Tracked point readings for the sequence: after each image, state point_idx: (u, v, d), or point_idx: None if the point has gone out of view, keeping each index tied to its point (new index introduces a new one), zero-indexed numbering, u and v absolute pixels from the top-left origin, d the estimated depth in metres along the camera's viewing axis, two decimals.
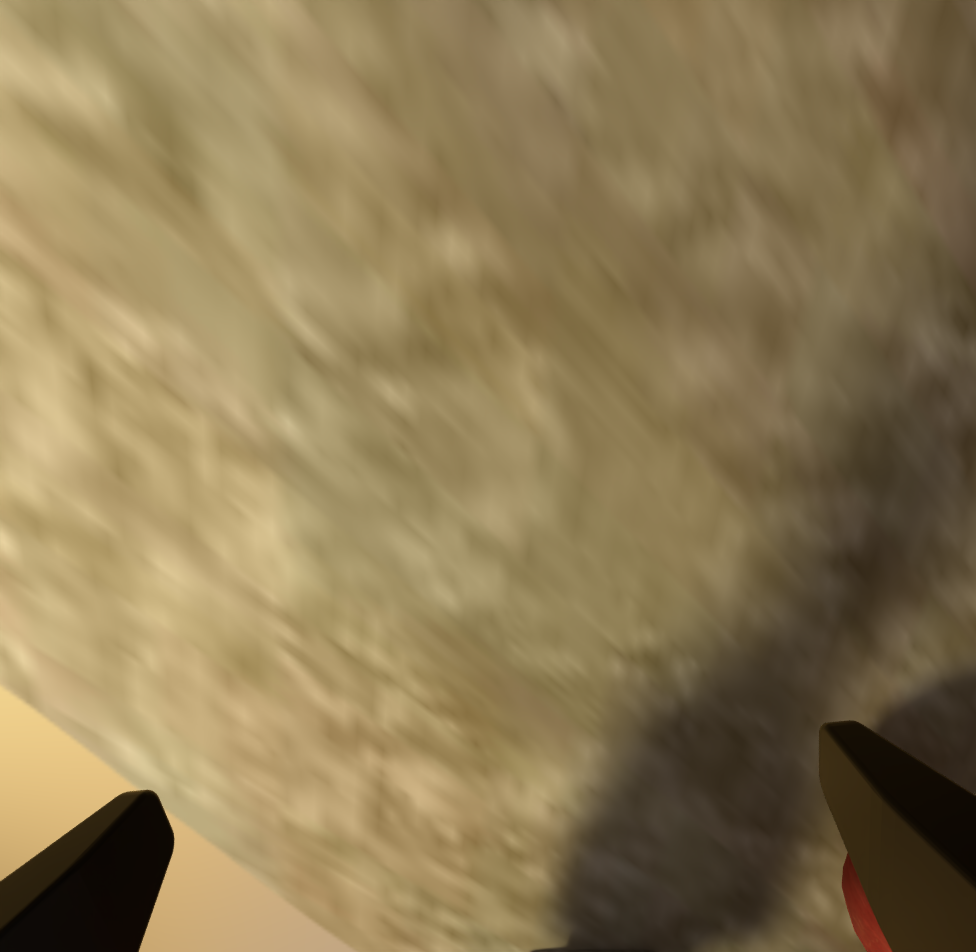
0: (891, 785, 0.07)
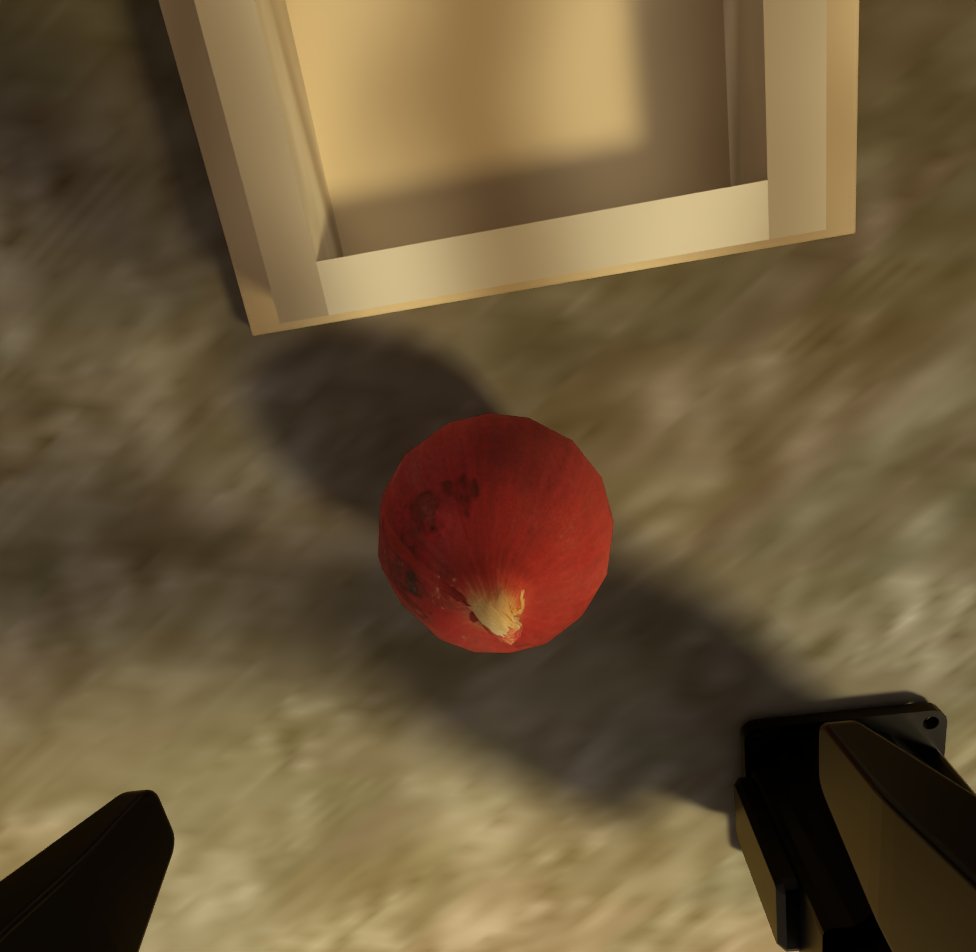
0: (891, 785, 0.07)
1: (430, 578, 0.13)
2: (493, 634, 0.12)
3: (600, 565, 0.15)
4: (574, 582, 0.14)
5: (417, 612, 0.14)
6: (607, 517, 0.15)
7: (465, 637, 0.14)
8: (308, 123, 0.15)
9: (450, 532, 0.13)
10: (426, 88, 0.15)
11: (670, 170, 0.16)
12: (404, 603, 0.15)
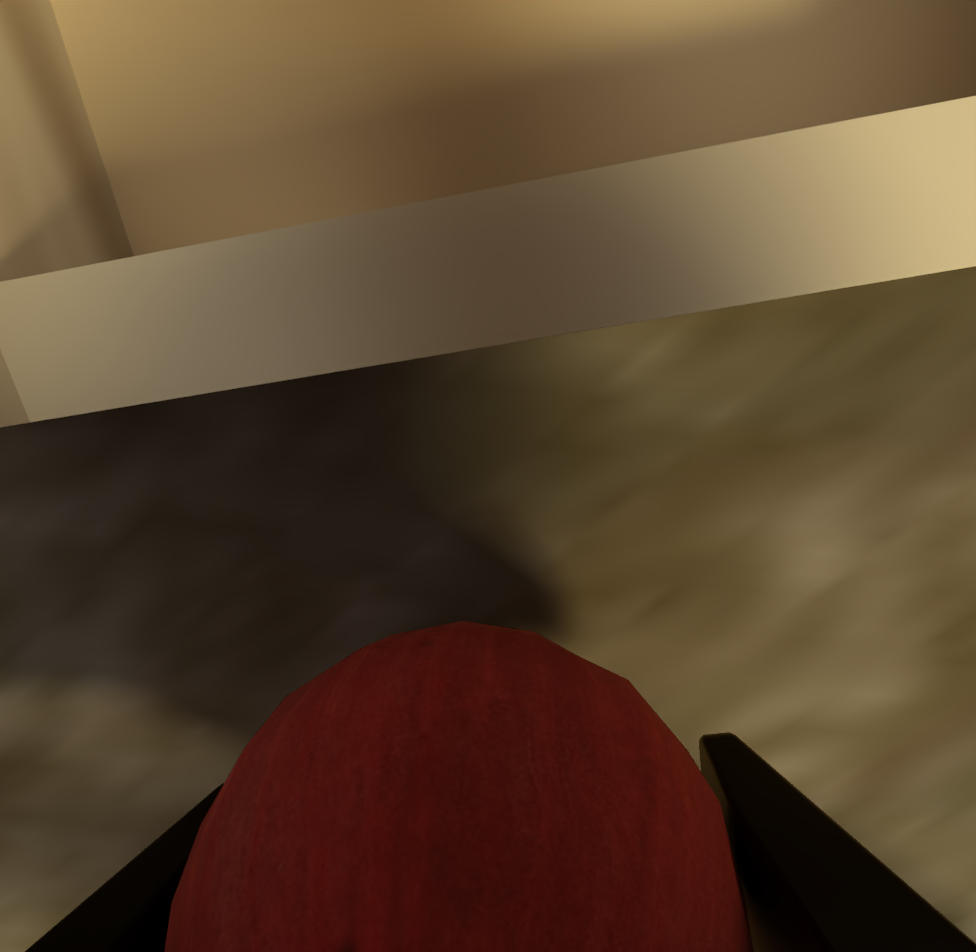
0: (744, 798, 0.07)
1: None
2: None
3: None
4: None
5: None
6: (747, 941, 0.06)
7: None
8: None
9: None
10: None
11: (877, 64, 0.07)
12: None
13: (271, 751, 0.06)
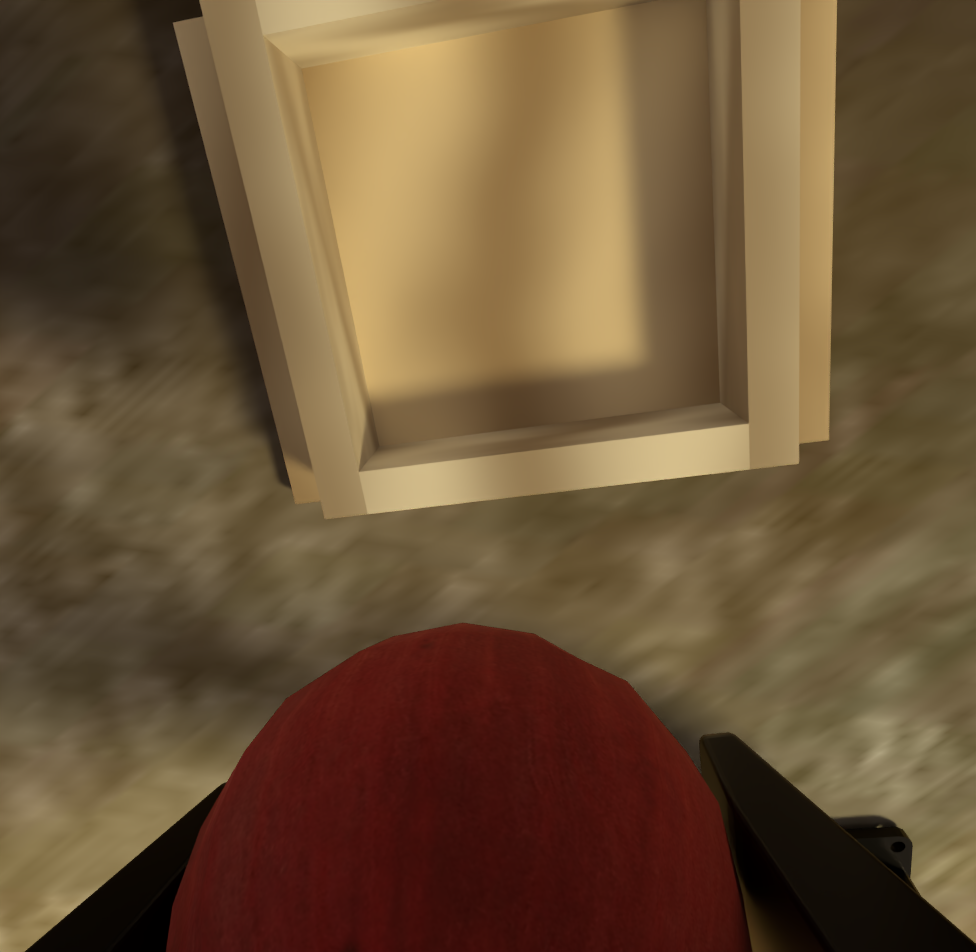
0: (744, 798, 0.07)
1: None
2: None
3: None
4: None
5: None
6: (747, 941, 0.06)
7: None
8: (353, 341, 0.18)
9: None
10: (456, 313, 0.18)
11: (667, 384, 0.18)
12: None
13: (272, 753, 0.06)
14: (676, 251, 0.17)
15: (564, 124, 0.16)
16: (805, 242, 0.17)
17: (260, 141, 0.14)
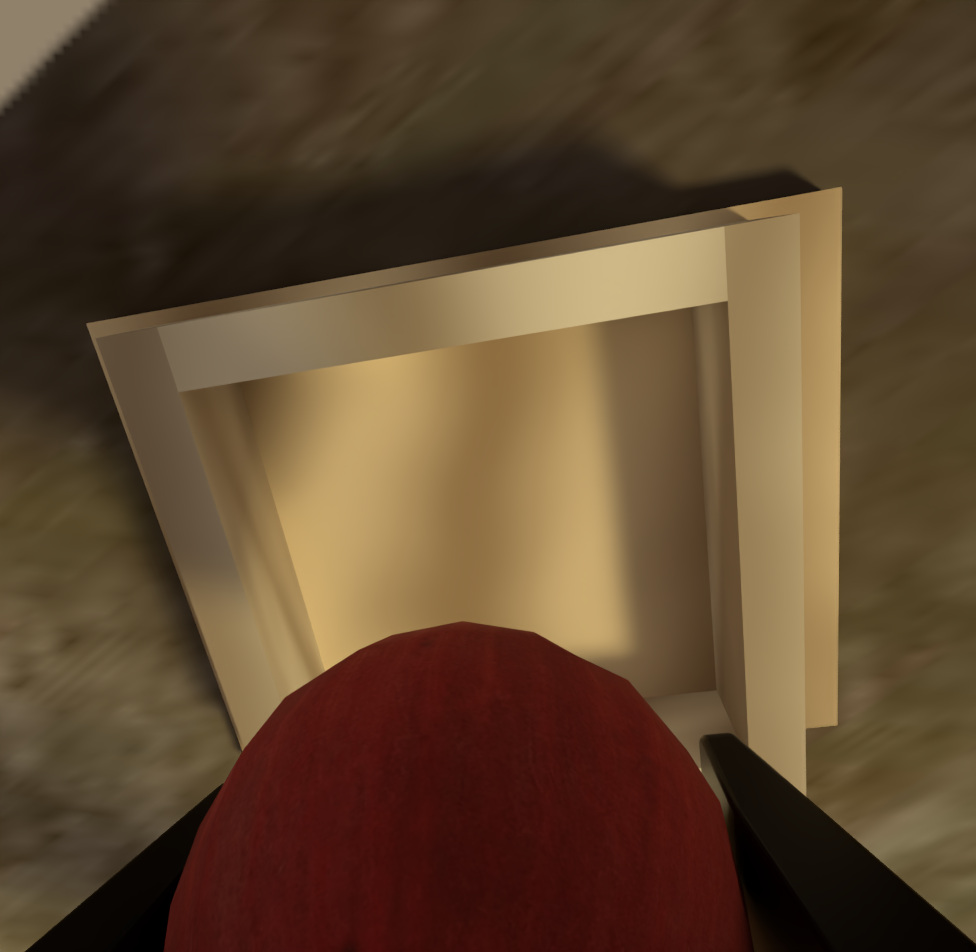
0: (744, 798, 0.07)
1: None
2: None
3: None
4: None
5: None
6: (749, 941, 0.06)
7: None
8: (307, 639, 0.16)
9: None
10: (421, 605, 0.16)
11: (657, 673, 0.16)
12: None
13: (271, 752, 0.06)
14: (664, 546, 0.15)
15: (534, 423, 0.14)
16: (808, 538, 0.15)
17: (183, 494, 0.13)
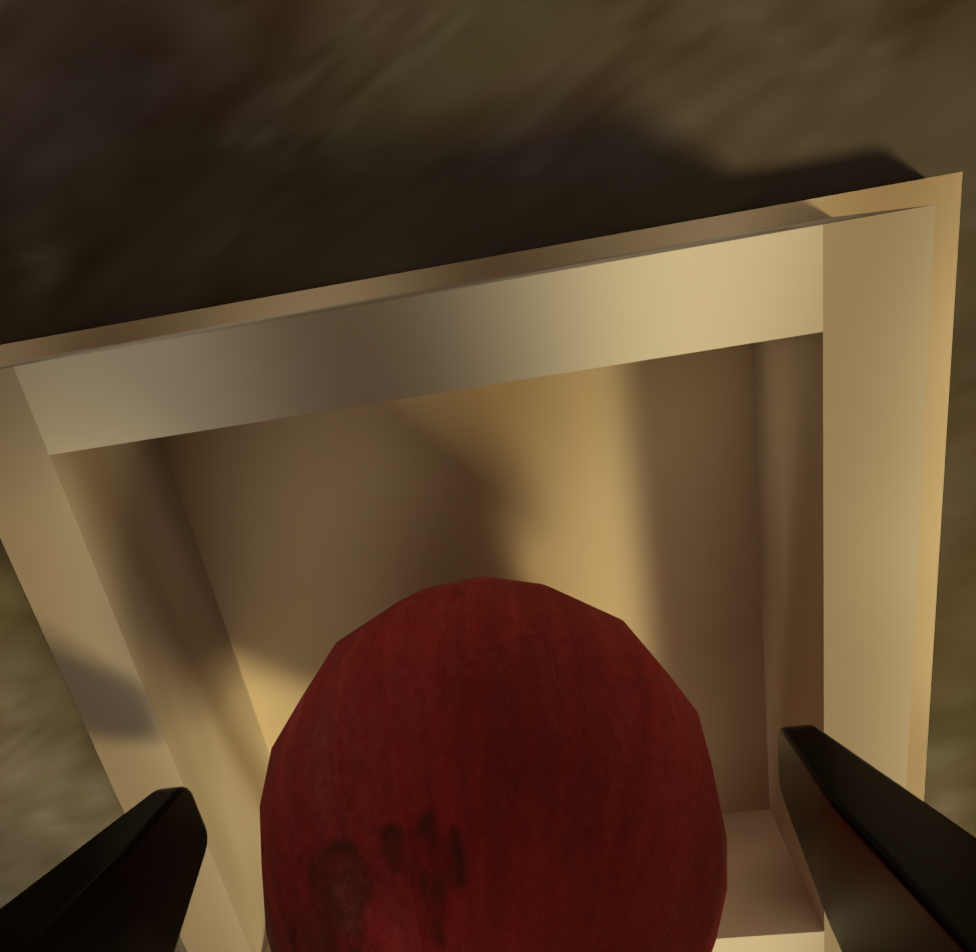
0: (840, 790, 0.07)
1: None
2: None
3: None
4: None
5: None
6: (720, 814, 0.07)
7: None
8: (253, 748, 0.13)
9: None
10: None
11: None
12: None
13: (339, 682, 0.07)
14: (707, 636, 0.12)
15: (542, 483, 0.11)
16: None
17: (65, 589, 0.09)
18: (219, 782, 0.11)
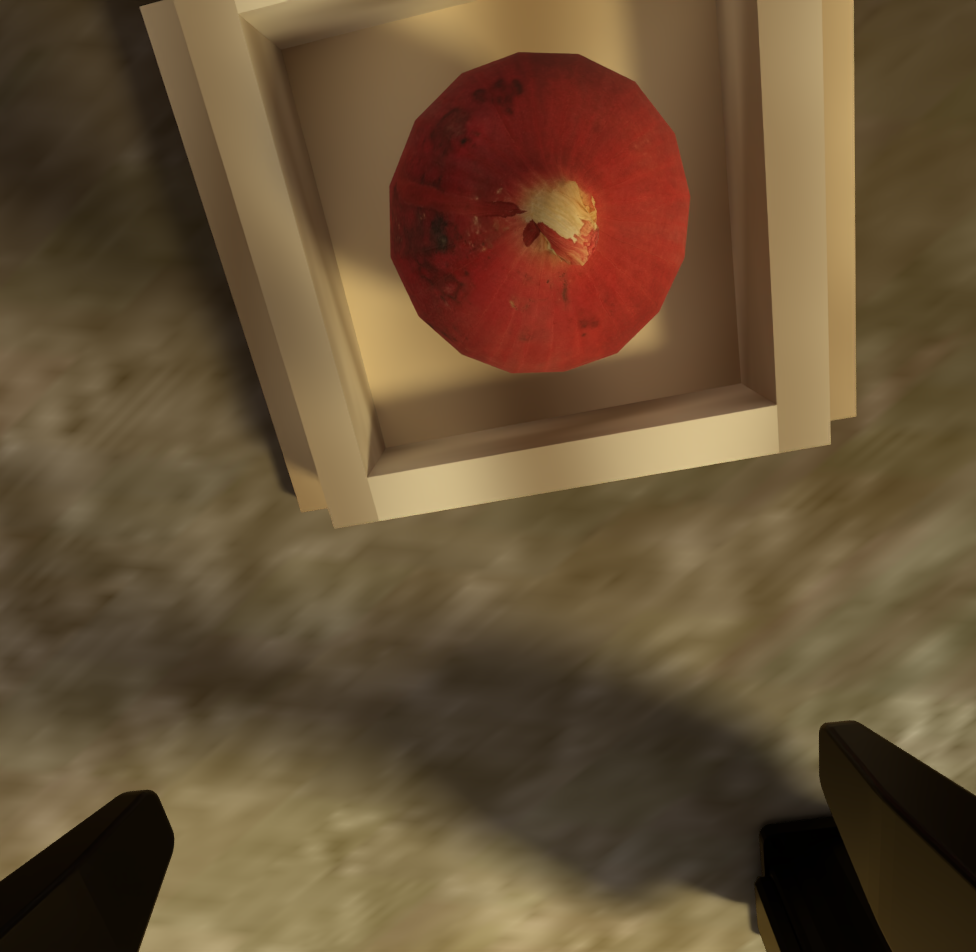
0: (891, 785, 0.07)
1: (465, 205, 0.10)
2: (559, 242, 0.09)
3: (681, 221, 0.11)
4: (654, 219, 0.10)
5: (447, 292, 0.11)
6: (683, 171, 0.12)
7: (515, 303, 0.10)
8: (352, 339, 0.17)
9: (488, 137, 0.10)
10: None
11: (685, 367, 0.17)
12: (428, 301, 0.12)
13: None
14: (689, 225, 0.16)
15: None
16: (826, 209, 0.16)
17: (242, 129, 0.13)
18: (336, 330, 0.16)
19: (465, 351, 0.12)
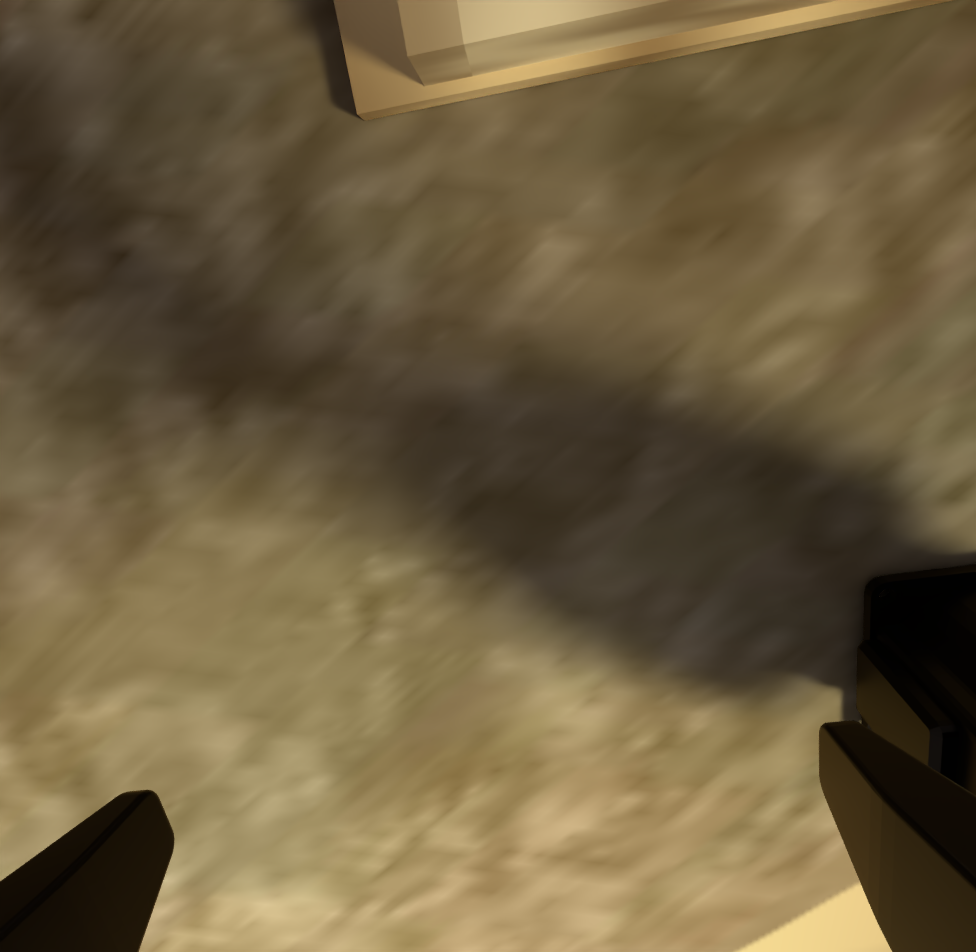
0: (891, 785, 0.07)
1: None
2: None
3: None
4: None
5: None
6: None
7: None
8: None
9: None
10: None
11: None
12: None
13: None
14: None
15: None
16: None
17: None
18: None
19: None
